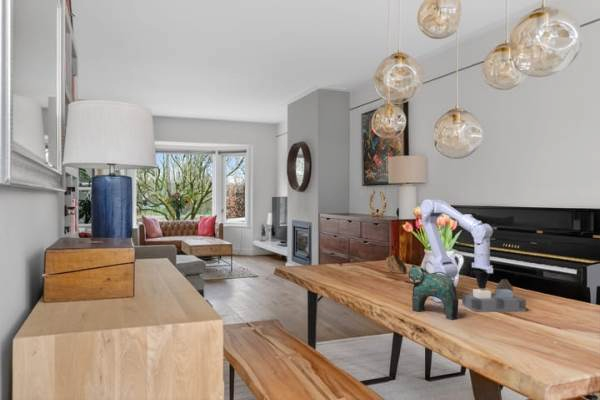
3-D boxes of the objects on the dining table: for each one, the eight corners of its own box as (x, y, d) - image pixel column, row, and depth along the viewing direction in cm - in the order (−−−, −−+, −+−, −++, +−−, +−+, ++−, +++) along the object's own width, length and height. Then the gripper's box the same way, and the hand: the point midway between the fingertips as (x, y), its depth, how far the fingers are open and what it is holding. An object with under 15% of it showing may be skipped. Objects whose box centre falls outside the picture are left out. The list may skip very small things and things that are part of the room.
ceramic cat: (406, 310, 172) (407, 259, 172) (417, 307, 176) (417, 257, 176) (451, 321, 157) (451, 265, 157) (461, 318, 160) (462, 263, 160)
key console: (475, 311, 170) (475, 300, 170) (462, 304, 182) (462, 293, 182) (525, 311, 171) (525, 299, 171) (509, 304, 183) (509, 293, 183)
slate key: (500, 301, 174) (500, 291, 174) (494, 298, 179) (494, 289, 179) (513, 301, 174) (513, 291, 174) (506, 298, 179) (506, 289, 179)
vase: (515, 301, 187) (515, 281, 187) (497, 301, 188) (497, 280, 188) (510, 298, 193) (510, 278, 193) (494, 297, 195) (494, 277, 195)
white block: (478, 302, 173) (478, 291, 173) (473, 299, 178) (473, 289, 178) (491, 301, 174) (491, 291, 174) (485, 299, 179) (485, 289, 179)
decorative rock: (385, 272, 261) (385, 254, 261) (390, 271, 265) (390, 253, 265) (403, 274, 253) (403, 256, 253) (408, 273, 258) (408, 255, 258)
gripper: (500, 256, 169) (500, 292, 169) (483, 252, 183) (483, 284, 183) (482, 256, 168) (482, 292, 169) (466, 252, 183) (466, 284, 183)
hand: (481, 288), depth 176 cm, fingers closed
